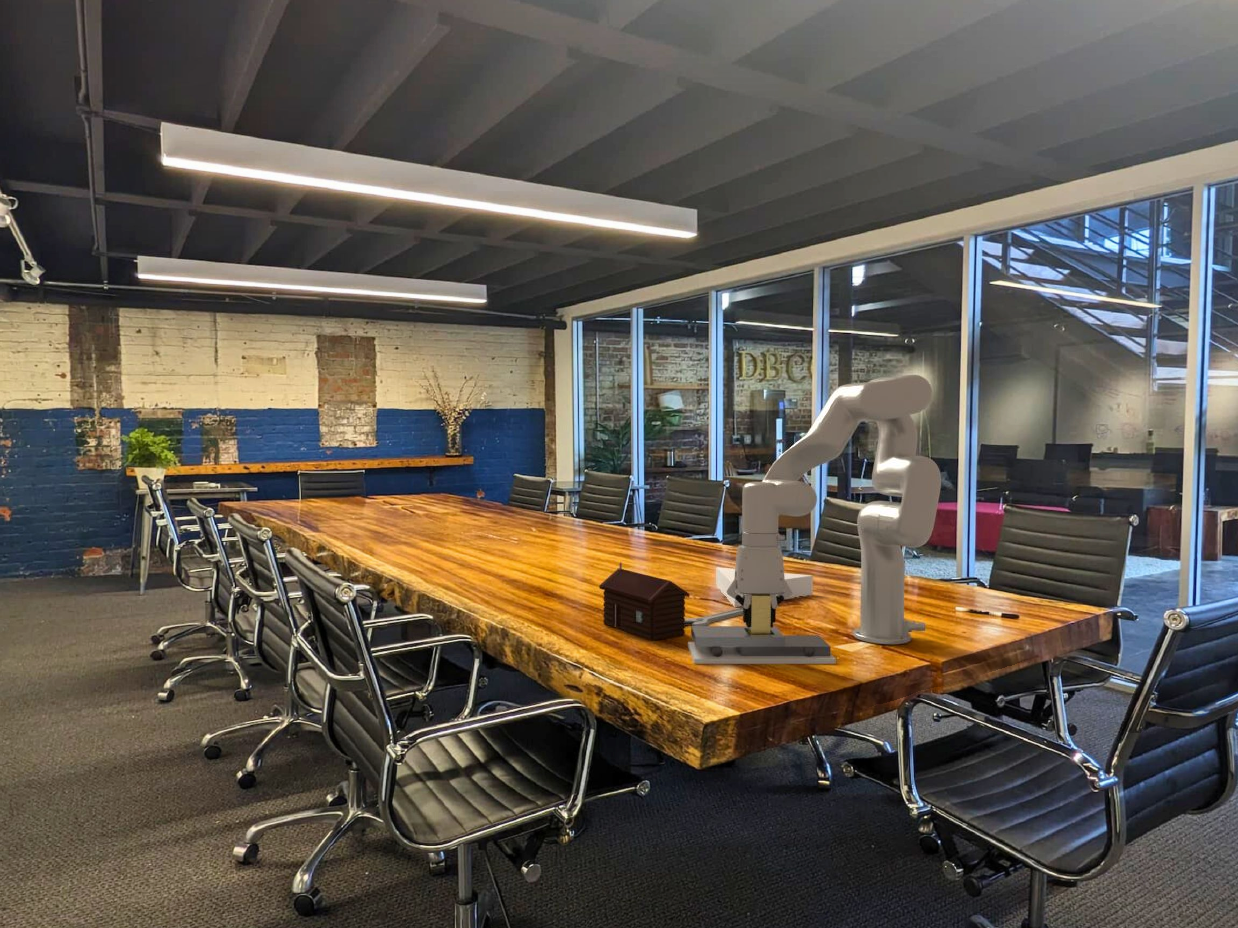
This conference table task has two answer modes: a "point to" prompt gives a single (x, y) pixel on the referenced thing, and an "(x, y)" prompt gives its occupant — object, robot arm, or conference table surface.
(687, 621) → the adjustable wrench
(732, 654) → the board
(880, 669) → the conference table surface
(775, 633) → the gray toy truck
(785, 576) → the triangle block
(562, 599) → the conference table surface
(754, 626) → the pin
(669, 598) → the model building
